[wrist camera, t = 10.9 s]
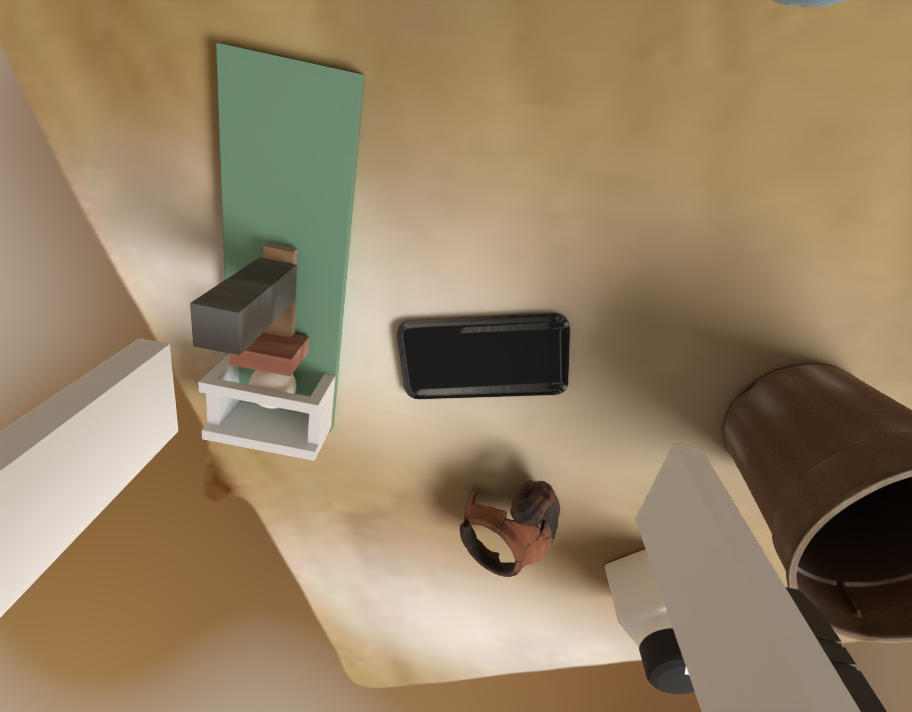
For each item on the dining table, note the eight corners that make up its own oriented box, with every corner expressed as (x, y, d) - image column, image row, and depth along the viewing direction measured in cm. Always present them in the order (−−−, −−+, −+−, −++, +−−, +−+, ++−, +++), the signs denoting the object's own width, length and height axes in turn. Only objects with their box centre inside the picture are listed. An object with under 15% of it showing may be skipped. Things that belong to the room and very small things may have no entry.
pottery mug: (546, 540, 55) (511, 598, 49) (480, 487, 57) (439, 537, 52) (596, 486, 47) (562, 548, 41) (517, 427, 49) (474, 478, 44)
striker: (252, 239, 39) (172, 284, 29) (313, 251, 39) (254, 301, 29) (253, 340, 43) (183, 410, 34) (308, 351, 43) (255, 424, 34)
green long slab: (223, 44, 34) (173, 33, 29) (364, 74, 34) (341, 69, 29) (234, 406, 48) (202, 443, 43) (333, 425, 49) (314, 464, 43)
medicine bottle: (630, 599, 58) (662, 710, 47) (602, 563, 55) (629, 672, 45) (688, 578, 56) (735, 691, 45) (662, 540, 53) (705, 650, 42)
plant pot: (687, 367, 43) (784, 497, 29) (892, 315, 40) (1116, 434, 26) (708, 498, 50) (795, 657, 36) (885, 464, 47) (1059, 624, 32)
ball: (246, 411, 44) (263, 375, 46) (290, 420, 44) (304, 383, 46) (236, 389, 40) (254, 351, 43) (283, 398, 41) (299, 359, 43)
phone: (567, 394, 44) (406, 399, 46) (566, 388, 45) (408, 393, 47) (570, 315, 41) (395, 323, 42) (568, 309, 42) (397, 318, 43)
